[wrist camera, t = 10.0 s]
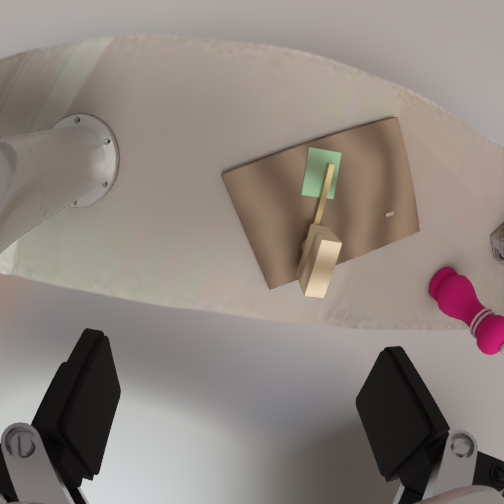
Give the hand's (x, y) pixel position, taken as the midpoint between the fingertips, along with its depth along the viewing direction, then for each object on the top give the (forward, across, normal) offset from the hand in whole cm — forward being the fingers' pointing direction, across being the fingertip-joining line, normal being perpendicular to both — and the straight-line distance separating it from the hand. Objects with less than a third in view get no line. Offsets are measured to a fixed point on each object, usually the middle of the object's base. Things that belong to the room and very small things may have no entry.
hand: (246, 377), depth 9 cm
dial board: (+30, -13, +1) cm, 33 cm away
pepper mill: (+31, -38, +12) cm, 50 cm away
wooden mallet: (+29, -10, +3) cm, 30 cm away
